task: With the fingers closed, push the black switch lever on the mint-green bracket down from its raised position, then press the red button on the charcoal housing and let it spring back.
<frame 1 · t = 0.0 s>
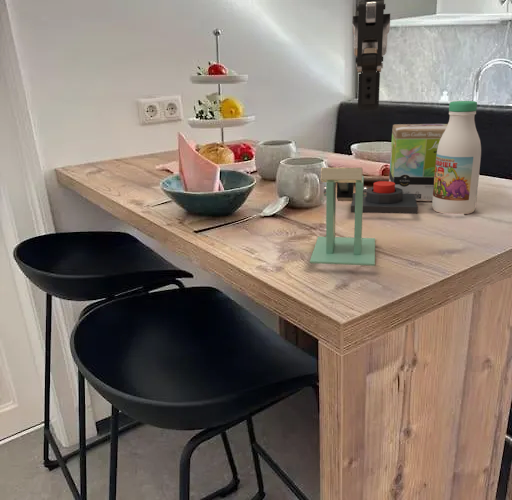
hand: (368, 106, 58), 22 cm above the table, tool pointing down, fingers open, 8 cm apart
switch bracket: (344, 256, 75), on the table
red button: (384, 187, 96), point 4 cm above the table, slide at 0.1 cm
tea box: (426, 198, 106), on the table
milk bottle: (453, 211, 96), on the table
button box: (383, 210, 97), on the table
switch lever: (343, 184, 67), point 12 cm above the table, hinge at 25.0°
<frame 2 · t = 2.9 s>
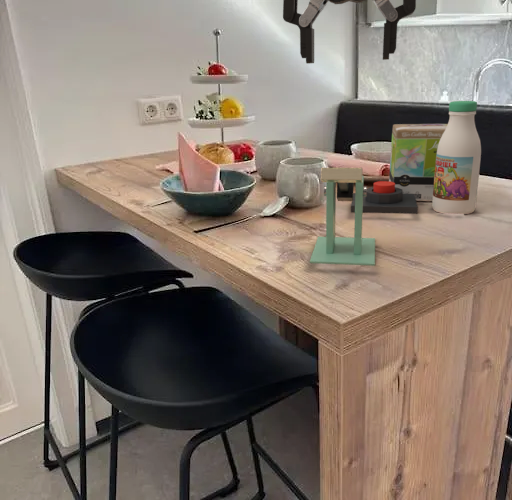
hand: (347, 61, 57), 27 cm above the table, tool pointing down, fingers open, 8 cm apart
nothing on the table moved.
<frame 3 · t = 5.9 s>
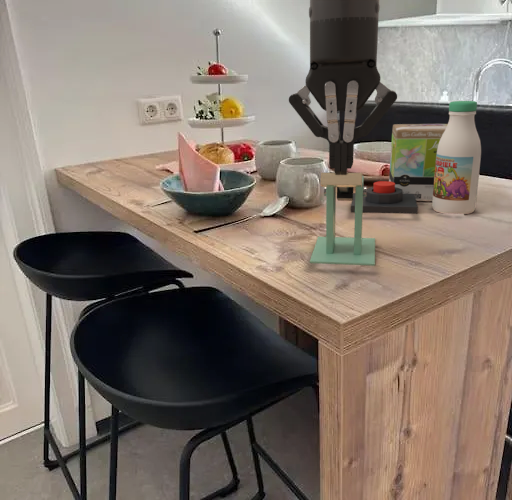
hand: (340, 172, 61), 15 cm above the table, tool pointing down, fingers closed
switch lever: (343, 186, 67), point 12 cm above the table, hinge at 21.6°, touching gripper
everything else where it was.
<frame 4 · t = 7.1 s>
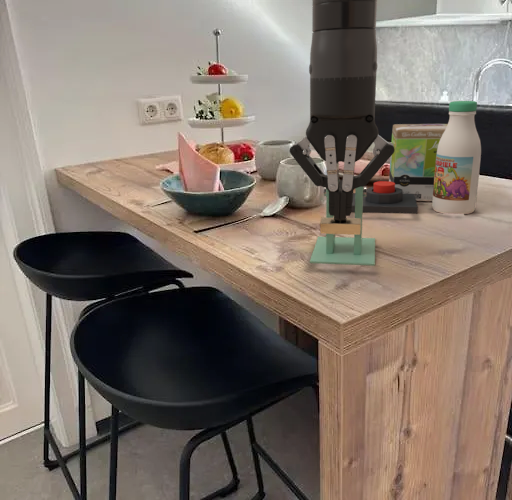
hand: (340, 218, 63), 9 cm above the table, tool pointing down, fingers closed
switch lever: (343, 206, 68), point 9 cm above the table, hinge at -12.5°, touching gripper
everything else where it was.
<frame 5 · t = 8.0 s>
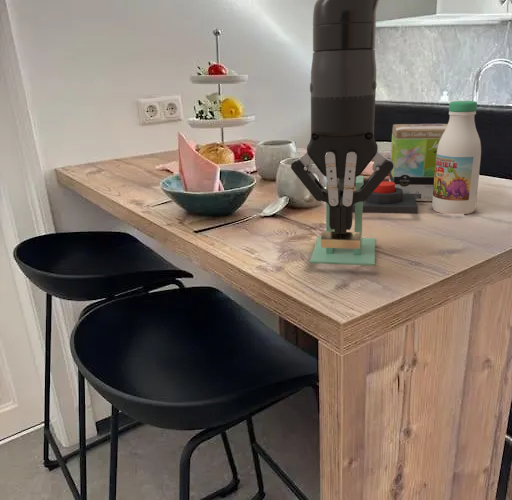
hand: (340, 232, 65), 7 cm above the table, tool pointing down, fingers closed
switch lever: (343, 212, 68), point 8 cm above the table, hinge at -25.5°, touching gripper
everything else where it was.
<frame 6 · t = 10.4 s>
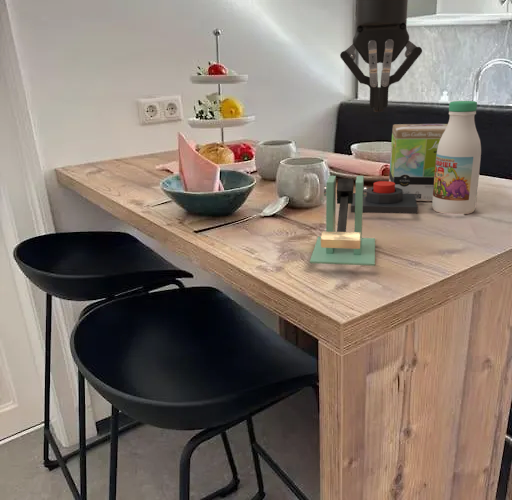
hand: (378, 111, 81), 20 cm above the table, tool pointing down, fingers closed
switch lever: (343, 212, 68), point 8 cm above the table, hinge at -25.5°
everything else where it was.
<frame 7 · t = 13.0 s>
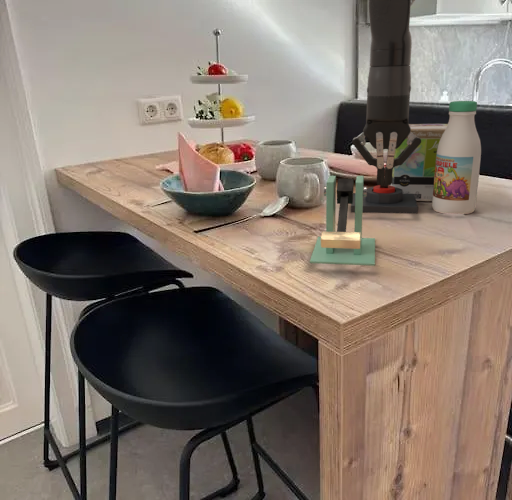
hand: (383, 187, 96), 5 cm above the table, tool pointing down, fingers closed
red button: (383, 191, 96), point 4 cm above the table, slide at -0.6 cm, touching gripper
everything else where it was.
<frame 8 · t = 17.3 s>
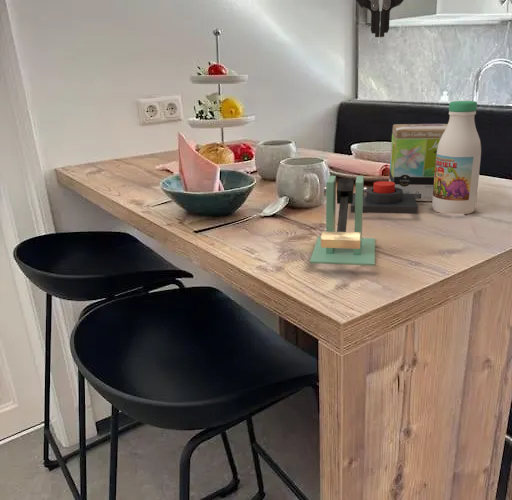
hand: (379, 36, 80), 31 cm above the table, tool pointing down, fingers closed
red button: (384, 187, 96), point 4 cm above the table, slide at 0.1 cm
everything else where it was.
at the end: switch lever at -26° (first picture: +25°); red button pushed in 1.1 cm at the most during the clip, back to where it started at the end; red button slide at 0.1 cm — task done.
